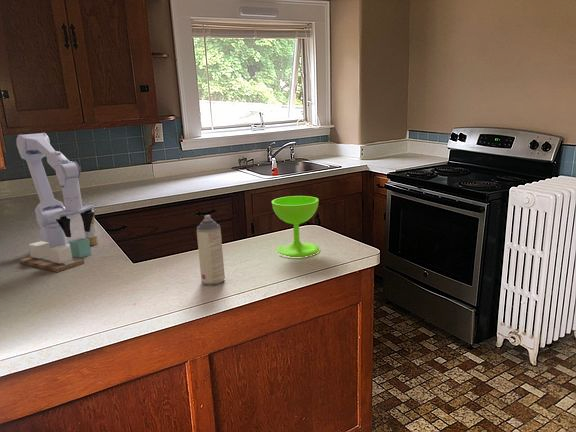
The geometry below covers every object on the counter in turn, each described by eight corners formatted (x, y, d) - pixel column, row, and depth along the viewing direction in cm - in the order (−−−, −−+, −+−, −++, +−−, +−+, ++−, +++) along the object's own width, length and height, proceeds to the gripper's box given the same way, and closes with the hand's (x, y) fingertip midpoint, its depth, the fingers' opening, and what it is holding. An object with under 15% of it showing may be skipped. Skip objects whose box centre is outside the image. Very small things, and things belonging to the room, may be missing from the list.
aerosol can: (214, 275, 142) (209, 211, 137) (229, 280, 138) (224, 214, 133) (196, 282, 137) (190, 216, 133) (211, 287, 133) (205, 219, 128)
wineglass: (265, 251, 163) (262, 201, 159) (299, 241, 173) (297, 194, 169) (294, 261, 151) (292, 207, 147) (329, 250, 161) (328, 199, 157)
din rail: (29, 257, 166) (29, 255, 166) (39, 254, 169) (39, 252, 169) (65, 265, 155) (64, 263, 155) (74, 262, 158) (74, 260, 158)
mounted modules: (31, 256, 164) (28, 244, 163) (43, 252, 168) (41, 241, 167) (60, 263, 155) (58, 250, 154) (72, 259, 159) (70, 246, 158)
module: (71, 256, 169) (69, 240, 167) (82, 252, 172) (80, 237, 171) (80, 258, 166) (77, 241, 165) (91, 254, 170) (88, 238, 168)
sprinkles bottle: (88, 242, 185) (83, 210, 182) (100, 242, 185) (95, 209, 182) (84, 246, 180) (79, 212, 177) (96, 245, 181) (91, 211, 178)
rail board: (20, 262, 164) (20, 259, 163) (47, 254, 172) (47, 251, 172) (57, 272, 152) (56, 268, 152) (84, 262, 160) (84, 259, 160)
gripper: (59, 201, 156) (66, 240, 159) (97, 193, 168) (102, 230, 171) (47, 200, 160) (54, 238, 163) (85, 192, 172) (90, 228, 175)
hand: (78, 234), depth 167 cm, fingers open, 7 cm apart
